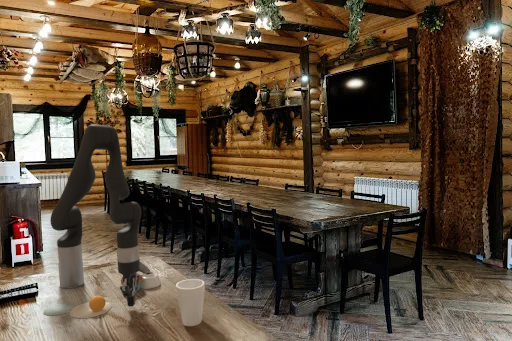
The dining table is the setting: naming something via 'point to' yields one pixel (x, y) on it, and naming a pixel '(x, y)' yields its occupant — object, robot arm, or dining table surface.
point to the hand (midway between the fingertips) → (131, 305)
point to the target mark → (88, 311)
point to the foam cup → (191, 300)
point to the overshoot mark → (58, 309)
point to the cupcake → (138, 282)
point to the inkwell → (148, 278)
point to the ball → (97, 303)
